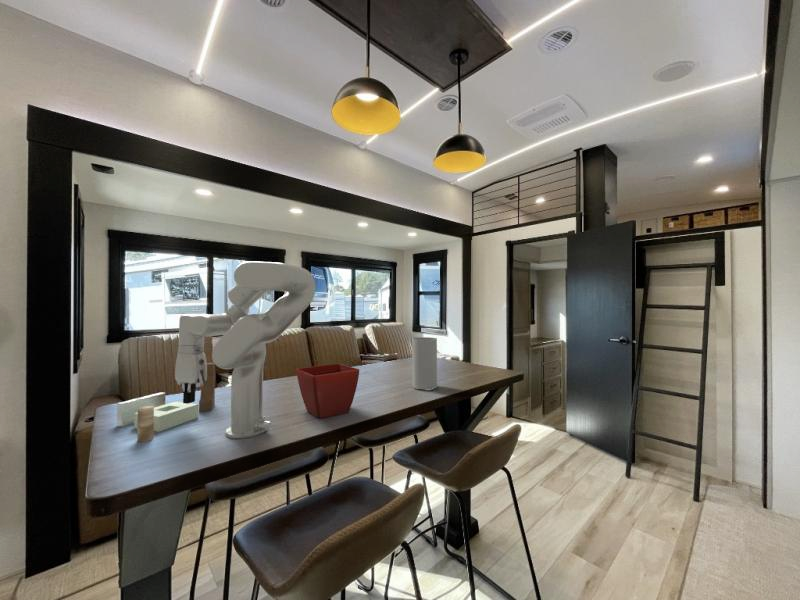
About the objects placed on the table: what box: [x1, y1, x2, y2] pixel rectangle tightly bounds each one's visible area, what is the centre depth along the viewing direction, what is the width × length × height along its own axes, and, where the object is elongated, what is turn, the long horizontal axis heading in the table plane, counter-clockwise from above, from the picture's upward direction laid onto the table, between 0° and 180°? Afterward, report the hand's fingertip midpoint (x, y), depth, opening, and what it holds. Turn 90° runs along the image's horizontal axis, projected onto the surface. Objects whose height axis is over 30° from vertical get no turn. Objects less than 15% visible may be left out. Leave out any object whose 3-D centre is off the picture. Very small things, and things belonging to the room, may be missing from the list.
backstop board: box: [116, 392, 166, 428], centre depth 119 cm, size 2×15×8 cm, turn 163°
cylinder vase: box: [411, 336, 438, 390], centre depth 165 cm, size 12×12×25 cm
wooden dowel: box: [136, 406, 155, 443], centre depth 101 cm, size 4×4×10 cm
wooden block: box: [198, 362, 216, 413], centre depth 132 cm, size 9×4×18 cm, turn 24°
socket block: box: [133, 401, 199, 433], centre depth 116 cm, size 12×14×5 cm
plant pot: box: [295, 363, 360, 419], centre depth 128 cm, size 19×19×17 cm
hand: (189, 402), depth 113 cm, fingers closed
